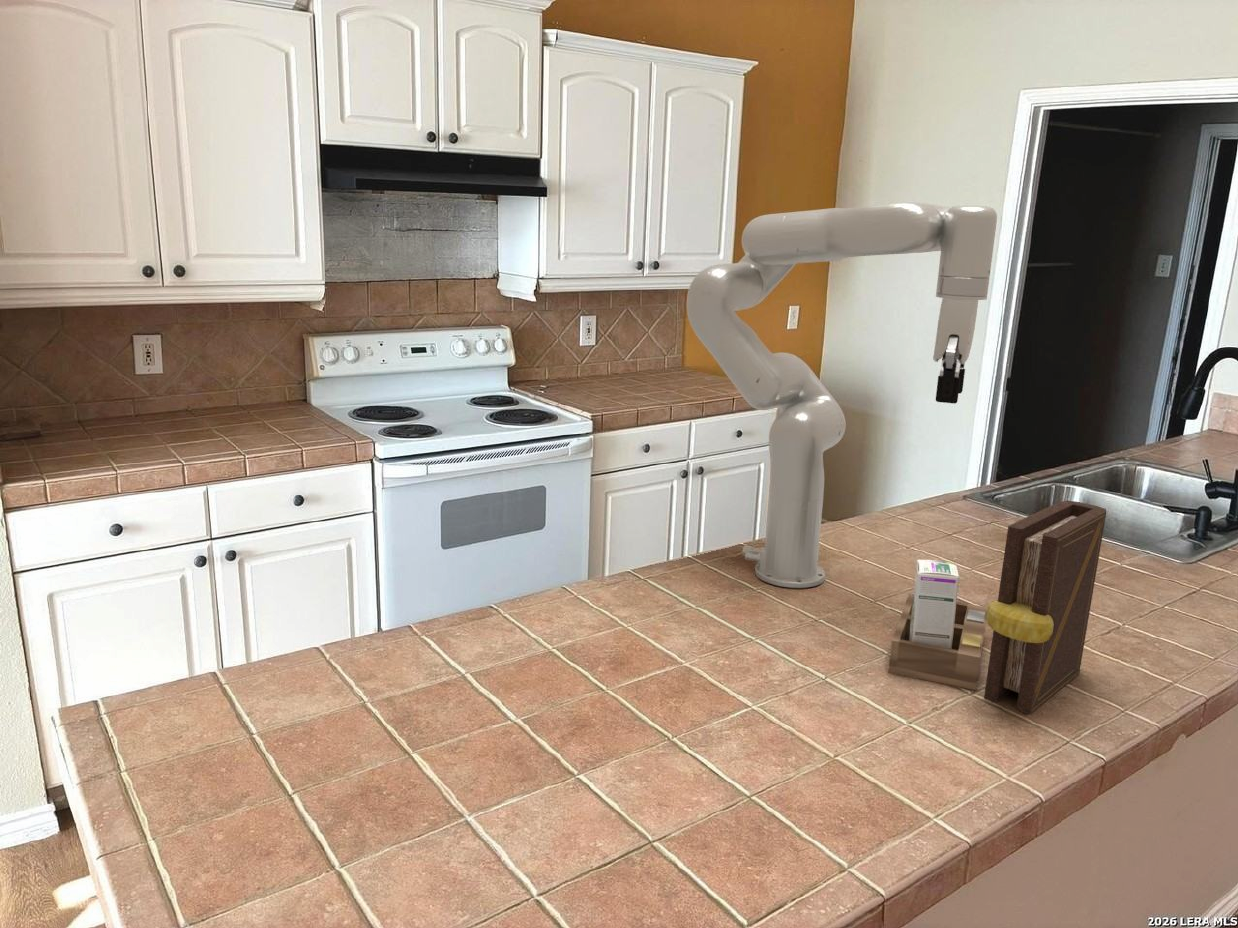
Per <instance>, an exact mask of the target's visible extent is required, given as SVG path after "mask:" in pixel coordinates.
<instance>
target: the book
mask: <svg viewBox="0 0 1238 928" xmlns="http://www.w3.org/2000/svg"><path fill="white" fill-rule="evenodd" d="M1106 516H1107V509H1106V508H1103V507H1101V506H1098V505H1093V504H1090V503H1085V502H1081V501H1076V500H1075V501H1074V500H1059V502H1056V503H1054V504H1052V505H1050V506H1047V507H1046V508H1043V509H1041V510H1039V511H1037V512H1035V513H1033V514H1031V515H1028V516H1027V517H1024V518H1022V519H1020V520H1018V521H1016V522H1013V523H1011V524H1009V525H1008V526H1007V533H1006V540H1005V546H1004V547H1005V549H1004V554H1003V562H1002V568H1001V574H1000V581H999V589H998V590H999V591H998V596H997V597H998V598H997V600H994V601H992V602H990V603H989V605H988V606H987V607H988V609H987V614H986V624H987V625H988V626H989V628H990V629H992V630H993V632H992V639H991V645H990V651H989V652H990V653H989V659H988V667H987V675H986V681H985V682H986V683H985V689H984V695H983V697H984V699H985V700H987V701H990V702H992V703H998V702H999V701H1001V700H1002V699H1003V698H1005V697H1006V696H1007V695H1009V694H1010V693H1012V692H1015V693H1017V694H1018V698H1017V705H1016V710H1015V711H1017V712H1018V713H1021V714H1023V715H1026V716H1030V715H1032V713H1034V712H1035V711H1037V710H1038V709H1039V708H1041V706H1043V705H1044V704H1045V703H1046V702H1047V701H1049V700H1050V699H1052V697H1054V696H1055V695H1056V694H1057V693H1058V692H1061V690H1062V689H1063V688H1065V687H1066V686H1067V685H1068V684H1070V683H1071V682H1072V681H1074V680H1075V679H1076V678H1077V677H1079V676H1080V673H1081V666H1082V659H1083V652H1084V646H1085V642H1086V635H1087V630H1088V623H1089V618H1090V611H1091V606H1092V600H1093V593H1094V588H1095V582H1096V575H1097V569H1098V564H1099V559H1100V553H1101V546H1102V541H1103V534H1104V527H1105V523H1106Z"/></svg>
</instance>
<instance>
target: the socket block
mask: <svg viewBox="0 0 1238 928" xmlns="http://www.w3.org/2000/svg"><path fill="white" fill-rule="evenodd" d="M913 594H914V593H908V596H907V599H906V600H905V601H906V602H905V603H904V606H903V609H902V612H901V614H900V617H899V620H898V623H897V626H896V628H895V631H894V633H893V635H892V636H893V637H892V639H891V644H890V645H891V646H890V654H889V664H888V673H891V674H896V675H900V676H904V677H909V678H915V679H920V680H925V681H930V682H935V683H939V684H943V685H949V686H954V687H958V688H962V689H968V690H972V691H977V686H978V678H979V673H980V672H979V671H980V666H981V658H982V651H983V645H984V639H985V630H986V625H987V620H986V614H987V609H988V607H989V606H982V605H977V604H971V603H965V602H959V601H957V603H956V613H955V623H954V632H953V641H952V649H948V648H943V647H938V646H933V645H928V644H922V643H917V642H912V641H909V633H910V624H911V614H912V605H913Z"/></svg>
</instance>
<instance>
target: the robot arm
mask: <svg viewBox="0 0 1238 928" xmlns="http://www.w3.org/2000/svg"><path fill="white" fill-rule="evenodd" d="M997 219H998V214H997V211H996V210H995V208H992V207H990V206H981V205H955V206H952V207H949V206H941V205H937V204H936V205H935V204H931V203H922V202H921V203H920V202H900V203H898V202H897V203H890V204H880V205H869V206H859V207H848V208H842V207H833V208H832V207H831V208H823V209H820V208H819V209H813V210H803V211H802V210H801V211H793V212H791V211H790V212H779V213H770V214H763V215H760V216H757V217H755V218H753V219H751V220H750V221H749V222H748V223H747V225H746V226H745V227H744V229H743V231H742V236H741V247H742V250H743V252H744V255H743V256H742V258H741V259H740V260H739V261H738V262H736V263H721V264H720V263H718V264H715V265H711V266H708V267H706V268H704V269H703V270H702V269H701V271H700V272H698V274H696V275H695V277H694V278H693V279H692V281H691V283H690V285H689V288H688V291H687V295H686V313H687V318H688V319H687V320H688V322H689V324H690V327H691V328H692V330H693V332H694V334H695V335H696V337H697V338H698V340H699V341H700V342H701V344H702V345H703V346H704V347H705V348H706V350H707V351H708V353H710V355H711V356H712V357H713V358H714V360H715V361H716V363H717V364H718V365H719V367H720V368H721V370H722V371H723V372H724V373H725V375H726V376H727V377H728V379H729V380H730V381H731V383H732V384H733V386H734V387H735V388H736V390H738V392H739V393H740V396H742V397H743V399H744V400H745V401H746V403H747V404H748V405H749V406H751V408H754V409H756V410H759V411H769V410H773V409H776V408H778V409H779V410H780V411H781V412H780V413H779V414H778V415H777V416H776V417H775V418H774V420H773V421H772V423H771V425H770V429H769V432H768V433H769V435H768V449H769V450H768V451H769V461H770V466H769V467H770V470H769V471H770V473H769V474H770V475H769V476H770V477H769V490H768V493H769V494H768V507H767V516H766V517H767V519H766V531H765V532H766V534H765V545H764V546H761V547H760V548H759V547H758V548H757V547H754V546H749V545H743V547H742V550H741V551H742V552H741V553H742V554H741V555H742V556H744V559H745V560H746V561H754V562H757V564H756V565H755V567H754V573H755V575H756V576H757V578H758V579H760V580H761V581H763V582H765V583H767V584H771V585H774V586H777V587H783V588H791V589H806V588H813V587H817V586H818V585H820V584H822V583H824V581H825V580H826V571H825V569H824V568H822V566H820V565H818V562H819V561H818V560H819V552H820V551H819V548H820V539H821V538H820V537H821V527H822V515H823V505H824V504H823V503H824V494H825V493H824V490H825V469H824V459H823V458H824V457H823V456H824V452H825V451H826V450H827V451H828V450H829V449H831V448H833V447H834V446H836V445H837V444H838V443H839V442H840V441H841V440H842V438H843V437H844V434H845V433H846V427H847V423H846V417H845V413H844V412H843V410H842V408H841V406H840V405H839V404H838V402H837V401H836V399H835V398H834V396H833V395H832V394H831V393H830V391H828V390H827V388H826V387H825V385H824V384H823V382H822V381H821V380H820V379H819V378H818V377H817V375H816V374H815V373H814V371H813V370H812V368H810V366H809V365H808V364H807V363H806V362H805V361H804V360H802V359H801V358H800V357H798V356H797V355H795V354H792V353H789V352H776V353H773V352H771V351H770V349H769V348H768V347H767V346H766V345H765V344H764V342H763V341H762V340H761V339H760V338H759V336H758V334H757V333H756V332H755V331H754V330H753V328H752V327H750V326H749V325H748V324H747V322H745V321H743V320H742V319H741V317H739V315H738V314H737V313H736V311H742V310H743V311H744V310H748V309H751V308H754V307H755V306H757V305H759V304H760V303H761V302H763V301H764V300H765V298H767V297H768V296H769V294H770V293H771V292H772V291H773V290H774V289H775V288H776V287H777V286H778V285H779V284H780V282H782V280H783V279H784V278H785V277H786V276H788V274H789V273H790V272H791V271H792V269H793V268H794V267H795V266H796V265H797V264H805V263H806V264H807V263H809V264H810V263H823V262H837V261H838V262H839V261H842V260H843V259H847V258H856V257H865V256H866V257H870V256H884V255H885V256H886V255H888V256H889V255H904V254H905V255H906V254H908V255H909V254H918V253H919V254H920V253H931V252H932V253H933V252H940V255H939V256H940V257H939V265H938V273H937V274H938V275H937V283H936V290H935V291H936V292H935V297H936V298H940V299H941V304H940V308H939V314H938V321H937V328H936V337H935V342H934V350H933V356H932V357H933V358H932V360H933V362H935V363H936V362H939V361H940V360H941V363H940V364H941V365H940V368H939V375H938V376H937V383H936V384H937V385H936V394H935V401H936V402H937V403H945V404H957V403H958V402H959V401H958V400H959V394H962V393H963V388H964V380H965V373H966V369H965V363H967V360H968V359H969V357H970V354H971V353H970V352H971V349H972V345H973V341H974V340H973V339H974V335H975V329H976V328H975V327H976V320H977V314H978V307H979V301H984V300H985V301H986V300H987V299H988V293H989V284H990V277H991V269H992V262H993V253H994V246H995V238H996V230H997V222H998V221H997Z"/></svg>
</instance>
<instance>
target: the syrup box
mask: <svg viewBox="0 0 1238 928" xmlns="http://www.w3.org/2000/svg"><path fill="white" fill-rule="evenodd" d="M915 568H916V569H915V578H914V584H913V585H914V587H913V593H912V594H913V605H912V614H911V624H910V633H909V641H912V642H917V643H922V644H928V645H933V646H938V647H943V648H948V649H952V641H953V632H954V623H955V613H956V603H957V602H958V591H959V581H960V575H959V571H958V566H957V563H955V562H951V561H950V562H949V561H946V560H936V559H917V561H916V567H915Z"/></svg>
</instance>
